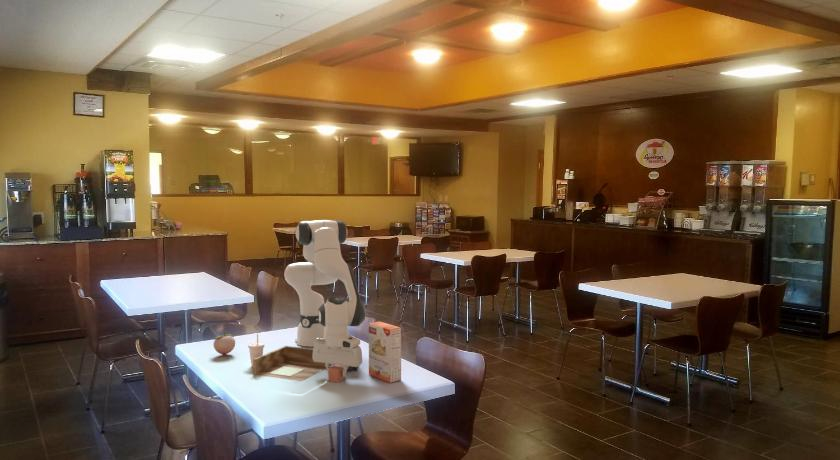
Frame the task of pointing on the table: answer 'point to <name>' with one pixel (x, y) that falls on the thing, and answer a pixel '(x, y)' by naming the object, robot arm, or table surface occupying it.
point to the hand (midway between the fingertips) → (336, 375)
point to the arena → (288, 363)
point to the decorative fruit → (224, 344)
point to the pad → (286, 371)
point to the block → (335, 373)
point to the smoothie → (255, 350)
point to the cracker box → (385, 351)
